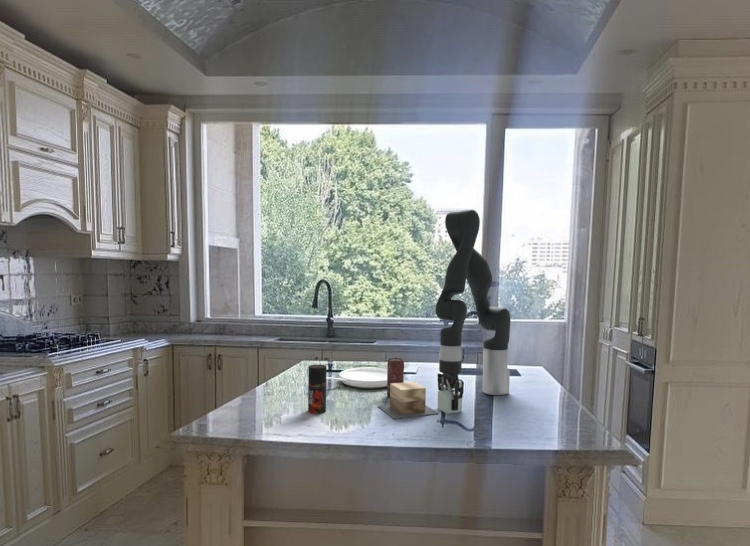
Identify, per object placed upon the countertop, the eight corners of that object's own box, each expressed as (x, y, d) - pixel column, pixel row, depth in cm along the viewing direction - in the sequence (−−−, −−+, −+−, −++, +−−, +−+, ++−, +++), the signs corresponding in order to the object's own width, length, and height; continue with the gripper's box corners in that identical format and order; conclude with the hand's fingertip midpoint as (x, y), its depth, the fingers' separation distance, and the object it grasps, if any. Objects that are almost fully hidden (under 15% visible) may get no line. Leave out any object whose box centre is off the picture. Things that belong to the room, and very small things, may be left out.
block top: (413, 393, 167) (413, 381, 167) (425, 399, 158) (425, 387, 158) (390, 395, 163) (390, 383, 163) (400, 402, 155) (400, 390, 155)
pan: (411, 385, 195) (411, 373, 195) (330, 399, 174) (330, 386, 174) (376, 373, 216) (377, 363, 216) (300, 384, 194) (300, 372, 194)
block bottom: (413, 404, 167) (413, 393, 167) (425, 411, 158) (425, 399, 158) (389, 406, 164) (390, 395, 163) (400, 414, 155) (400, 402, 155)
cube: (452, 406, 166) (453, 389, 166) (461, 411, 160) (462, 394, 160) (437, 408, 164) (437, 391, 164) (446, 413, 158) (446, 395, 158)
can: (402, 399, 174) (403, 361, 174) (385, 398, 176) (386, 360, 175) (405, 394, 180) (405, 358, 180) (388, 393, 181) (389, 357, 181)
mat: (419, 402, 170) (419, 401, 170) (438, 414, 157) (438, 413, 157) (377, 406, 165) (377, 405, 165) (393, 419, 152) (393, 418, 152)
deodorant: (328, 409, 161) (329, 365, 161) (321, 414, 155) (321, 368, 155) (313, 407, 163) (313, 363, 163) (304, 412, 157) (305, 367, 157)
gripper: (471, 361, 156) (470, 412, 157) (449, 353, 170) (448, 400, 170) (451, 363, 154) (450, 414, 154) (430, 355, 167) (430, 402, 168)
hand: (449, 407), depth 162 cm, fingers closed on cube, 6 cm apart
